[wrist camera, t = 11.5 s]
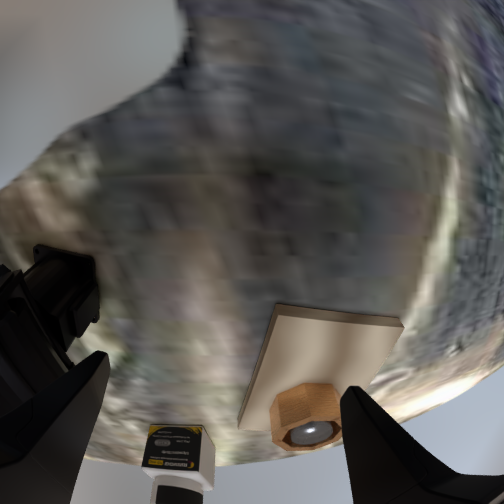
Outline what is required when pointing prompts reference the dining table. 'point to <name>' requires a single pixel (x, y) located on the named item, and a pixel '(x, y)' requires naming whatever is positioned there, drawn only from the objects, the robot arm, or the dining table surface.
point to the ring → (305, 413)
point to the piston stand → (315, 355)
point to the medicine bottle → (179, 463)
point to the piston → (311, 432)
